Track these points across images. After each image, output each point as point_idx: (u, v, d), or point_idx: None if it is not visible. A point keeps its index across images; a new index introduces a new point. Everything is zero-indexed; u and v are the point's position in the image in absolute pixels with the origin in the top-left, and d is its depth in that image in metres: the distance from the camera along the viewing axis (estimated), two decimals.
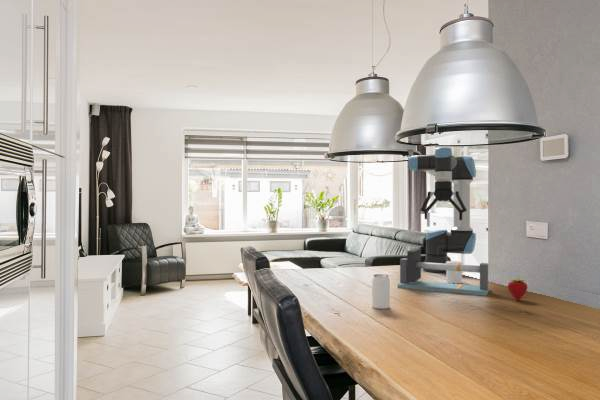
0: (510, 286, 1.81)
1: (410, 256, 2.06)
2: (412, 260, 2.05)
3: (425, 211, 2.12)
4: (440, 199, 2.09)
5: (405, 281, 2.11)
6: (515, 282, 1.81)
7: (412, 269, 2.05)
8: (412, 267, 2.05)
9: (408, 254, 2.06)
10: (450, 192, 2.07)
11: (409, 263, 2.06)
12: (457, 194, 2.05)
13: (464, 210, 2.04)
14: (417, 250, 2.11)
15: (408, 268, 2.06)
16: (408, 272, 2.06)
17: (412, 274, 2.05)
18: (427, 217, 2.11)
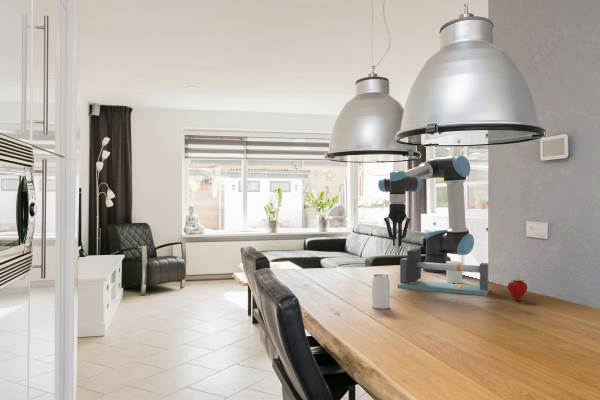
0: (510, 286, 1.81)
1: (410, 256, 2.06)
2: (412, 260, 2.05)
3: (393, 238, 2.15)
4: None
5: (405, 281, 2.11)
6: (515, 282, 1.81)
7: (412, 269, 2.05)
8: (412, 267, 2.05)
9: (408, 254, 2.06)
10: (404, 215, 2.13)
11: (409, 263, 2.06)
12: (407, 221, 2.12)
13: (402, 237, 2.13)
14: (417, 250, 2.11)
15: (408, 268, 2.06)
16: (408, 272, 2.06)
17: (412, 274, 2.05)
18: (395, 244, 2.14)
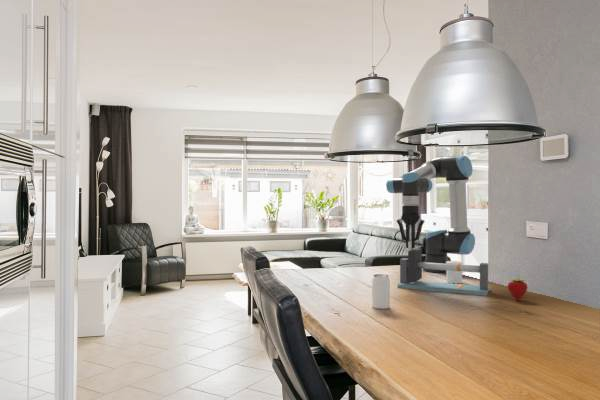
0: (510, 286, 1.81)
1: (410, 256, 2.05)
2: (413, 260, 2.05)
3: (406, 240, 2.12)
4: None
5: (405, 281, 2.11)
6: (515, 282, 1.81)
7: (413, 269, 2.05)
8: (413, 267, 2.05)
9: (409, 254, 2.06)
10: (417, 217, 2.10)
11: (410, 263, 2.06)
12: (421, 223, 2.09)
13: (416, 239, 2.10)
14: (418, 250, 2.11)
15: (409, 268, 2.06)
16: (409, 272, 2.06)
17: (413, 274, 2.05)
18: (408, 246, 2.12)
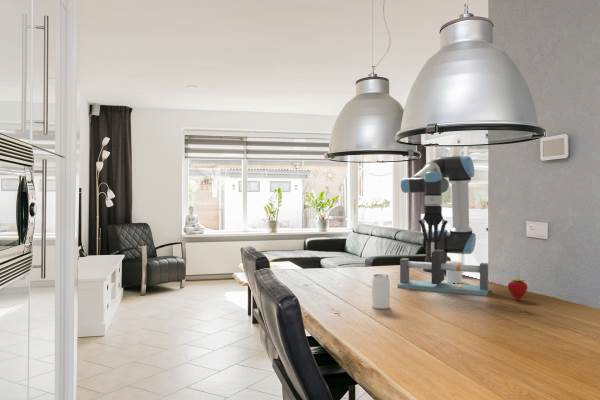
0: (510, 286, 1.81)
1: (434, 257, 2.01)
2: (437, 262, 2.00)
3: (429, 241, 2.07)
4: None
5: (405, 281, 2.11)
6: (515, 282, 1.81)
7: (437, 271, 2.00)
8: (437, 269, 2.00)
9: (432, 255, 2.01)
10: (440, 217, 2.05)
11: (433, 265, 2.01)
12: (444, 223, 2.04)
13: (439, 240, 2.05)
14: (441, 251, 2.06)
15: (432, 270, 2.01)
16: (432, 274, 2.01)
17: (437, 276, 2.00)
18: (431, 247, 2.07)
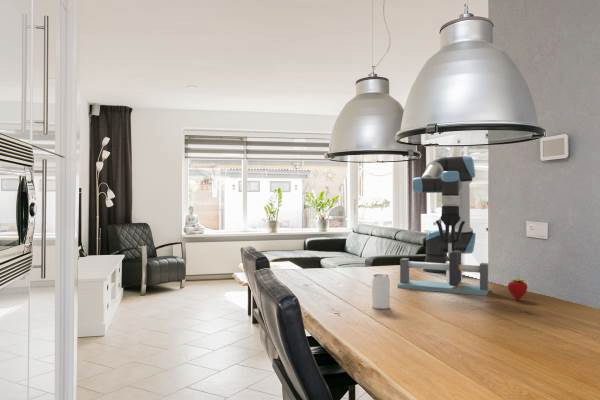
0: (510, 286, 1.81)
1: (452, 258, 1.97)
2: (455, 263, 1.97)
3: (446, 242, 2.04)
4: None
5: (405, 281, 2.11)
6: (515, 282, 1.81)
7: (455, 272, 1.97)
8: (455, 270, 1.97)
9: (450, 256, 1.97)
10: (458, 218, 2.02)
11: (451, 266, 1.97)
12: (462, 224, 2.01)
13: (456, 240, 2.02)
14: (459, 252, 2.02)
15: (450, 271, 1.97)
16: (450, 275, 1.97)
17: (455, 277, 1.97)
18: (448, 248, 2.03)
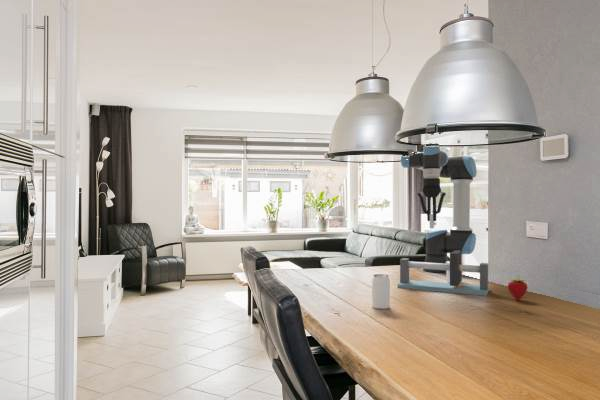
0: (510, 286, 1.81)
1: (452, 258, 1.97)
2: (455, 263, 1.96)
3: (428, 213, 2.12)
4: None
5: (405, 281, 2.11)
6: (515, 282, 1.81)
7: (455, 272, 1.96)
8: (455, 270, 1.96)
9: (451, 256, 1.97)
10: (439, 189, 2.10)
11: (452, 266, 1.97)
12: (443, 195, 2.09)
13: (437, 211, 2.10)
14: (459, 252, 2.02)
15: (451, 271, 1.97)
16: (451, 275, 1.97)
17: (455, 277, 1.96)
18: (430, 219, 2.11)
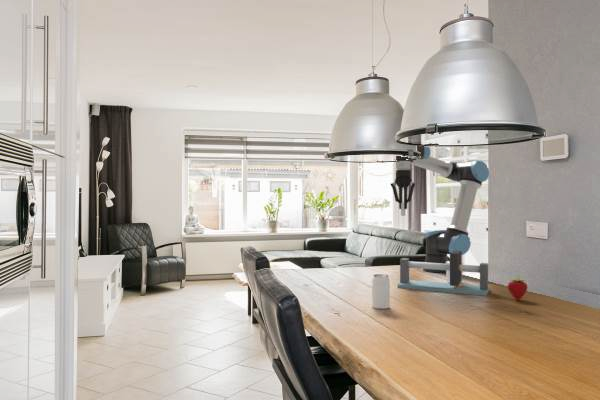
0: (510, 286, 1.81)
1: (452, 258, 1.97)
2: (455, 263, 1.96)
3: (399, 202, 2.32)
4: None
5: (405, 281, 2.11)
6: (515, 282, 1.81)
7: (455, 272, 1.96)
8: (455, 270, 1.96)
9: (451, 256, 1.97)
10: (409, 180, 2.30)
11: (452, 266, 1.97)
12: (412, 185, 2.29)
13: (408, 200, 2.30)
14: (459, 252, 2.02)
15: (451, 271, 1.97)
16: (451, 275, 1.97)
17: (455, 277, 1.96)
18: (401, 207, 2.31)
